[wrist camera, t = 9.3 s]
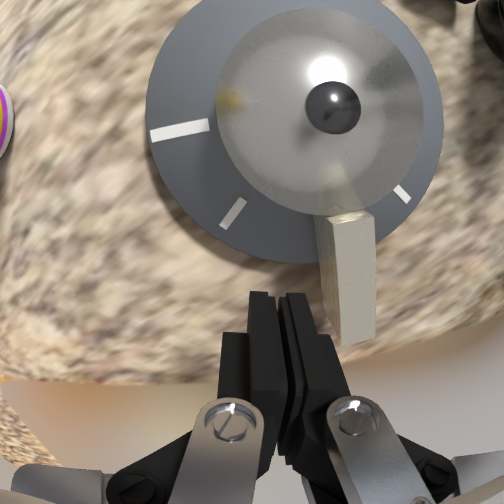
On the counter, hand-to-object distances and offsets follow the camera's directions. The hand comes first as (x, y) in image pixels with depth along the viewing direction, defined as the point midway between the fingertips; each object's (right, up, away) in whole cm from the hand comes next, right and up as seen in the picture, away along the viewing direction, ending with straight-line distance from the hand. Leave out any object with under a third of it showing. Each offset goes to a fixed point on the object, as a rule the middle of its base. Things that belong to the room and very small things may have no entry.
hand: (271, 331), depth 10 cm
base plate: (+3, +11, +7) cm, 13 cm away
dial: (+3, +7, +7) cm, 10 cm away
